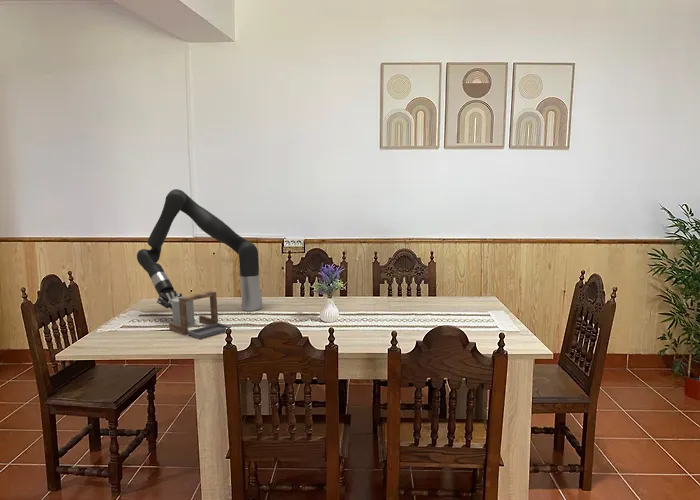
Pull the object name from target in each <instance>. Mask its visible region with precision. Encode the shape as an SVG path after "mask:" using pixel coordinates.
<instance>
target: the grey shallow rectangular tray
mask: <svg viewBox="0 0 700 500" xmlns="http://www.w3.org/2000/svg"><path fill="white" fill-rule="evenodd" d="M226 328H231V329H232V326H230V325H227V324H225V323H220V322H218V323H217V324H213V325H205V326H202V327H198V328H194V329H191V330H188V335H187V336H188V337H191V338H194V339H197V338H198V339H197V340H204V339H206V338H210V337H214V336H218V335H221V333H222V334H224V333H225V334H226V332H225V330H226ZM203 338H204V339H203Z"/></svg>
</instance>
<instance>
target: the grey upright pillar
mask: <svg viewBox="0 0 700 500" xmlns="http://www.w3.org/2000/svg"><path fill="white" fill-rule="evenodd" d="M187 296H188V295H187ZM187 296H184V297H187ZM182 297H183V296H182ZM182 297H177V296H176V298H173V299H172V300H171V301H172V309H171V311H172V323H175V324H178V325H181V320H180V307H179V298H182ZM194 309H195V308H194V300H192V301H188V302H186V310H187V323H188V328H191V327H193V326H195V324H196V321H195V311H194Z"/></svg>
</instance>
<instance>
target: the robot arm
mask: <svg viewBox="0 0 700 500" xmlns="http://www.w3.org/2000/svg"><path fill="white" fill-rule="evenodd" d="M180 211H181V212H182V213H183V214H185V215H187V216H188V217H189V218H190V219H191V220H192V221H193V223H195V224H196V226H198V227H199V229H200V230H201V231H203V232H204V233H206V235H208V236H209V237H210V238H212V239H214V240H216V241H218V242H220V243H222V244H224V245H226V246H228V247H229V248H230V249H232V250H233V251H234V252H235V253H236V254H237V255H238V260H239V261H238V262H239V280H240V295H241V296H240V297H241V299H240V300H241V310H242V311H243V312H253V311H258V310H260V309H263V294H262V289H261V288H260V287H261V286H260V266H259V265H260V263H259V262H260V261H259V251H258V248H257V246H256V244H254V243H253V242H251V241H249V240H247V239H246V238H245V237H243V236H241V235H240V234H238V233H236V232H235V231H234V230H233V229H232V228H231V227H230V226H229V225H228V224H226V223H225V222H224V221H223V220H221V219H220V218H219V217H217V216H216V215H215V214H213V213H212V212H210V211H209V210H207V209H206V208H204V207H202V206H201V205H199V204H198V203H197V202H196V201H195V200H194V199H192V198H191V197H190V196H189V195H188V194H187V193H186V192H184V191H183V190H181V189H179V188H178V189H177V188H175V189H171V190H170V191H169V192H168V193H167V194H166V197H165V201H164V204H163V208H162V211H161V214H160V216H159V218H158V220H157V222H156V223H155V225H154V227H153V229H152V231H151V233H150V235H149V236H148V239H147V244H148V246H149V247H150V249H146V248H141V249H140V250H138V251H137V253H136V260H137V262H138V264H139V265H140V266H141V267H142V269H144V270H145V272H146V273H147V274H148V277H149V278H150V280H151V283H152V286H153V288H154V289H155V291H156V293H157V294H158V299H157V300H156V303H157V304H159V305H160V306H162V307H164V308H166V309H168V308H170V309H171V310H172V301H171V300H172V299H173V298H177V297H183V293H177V291H176V290H175V289H174V286H173V284H172V282H171V281H170V278H169V277H168V275H167V274H166V272H165V270H164V268H163V267H162V265H161V264H159V263H158V262H159V260H160V258H161V252H162V246H163V245H164V242H165V240H166V239H167V236H168V234H169V231H170V229H171V226H172V223H174V220H175V218H177V215H178V214H179V213H180Z"/></svg>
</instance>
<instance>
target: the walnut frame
mask: <svg viewBox="0 0 700 500" xmlns="http://www.w3.org/2000/svg"><path fill="white" fill-rule="evenodd" d="M205 298H209V304H210V317H209V316H206V315H202V314H201V315H199V316H198V321H199V323H200V324H202V325H206V326H209V325H213V324H217V323H219V315H218V314H219V313H218V300H217V291H214V290H211V291H205V292H201V293H196V294H192V295H187V297H185V296H182V298H179V307H180V320H181V325H178V324H175V323H173V322H169V323H168V326H169V327H168V328H169V331H171V332H175V333H178V334H181V335H182V336H183V335H184V336H188V331H189V327H188V323H187V310H186V302H188V301H192V300H193V301H196V300H200V299H205Z"/></svg>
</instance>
